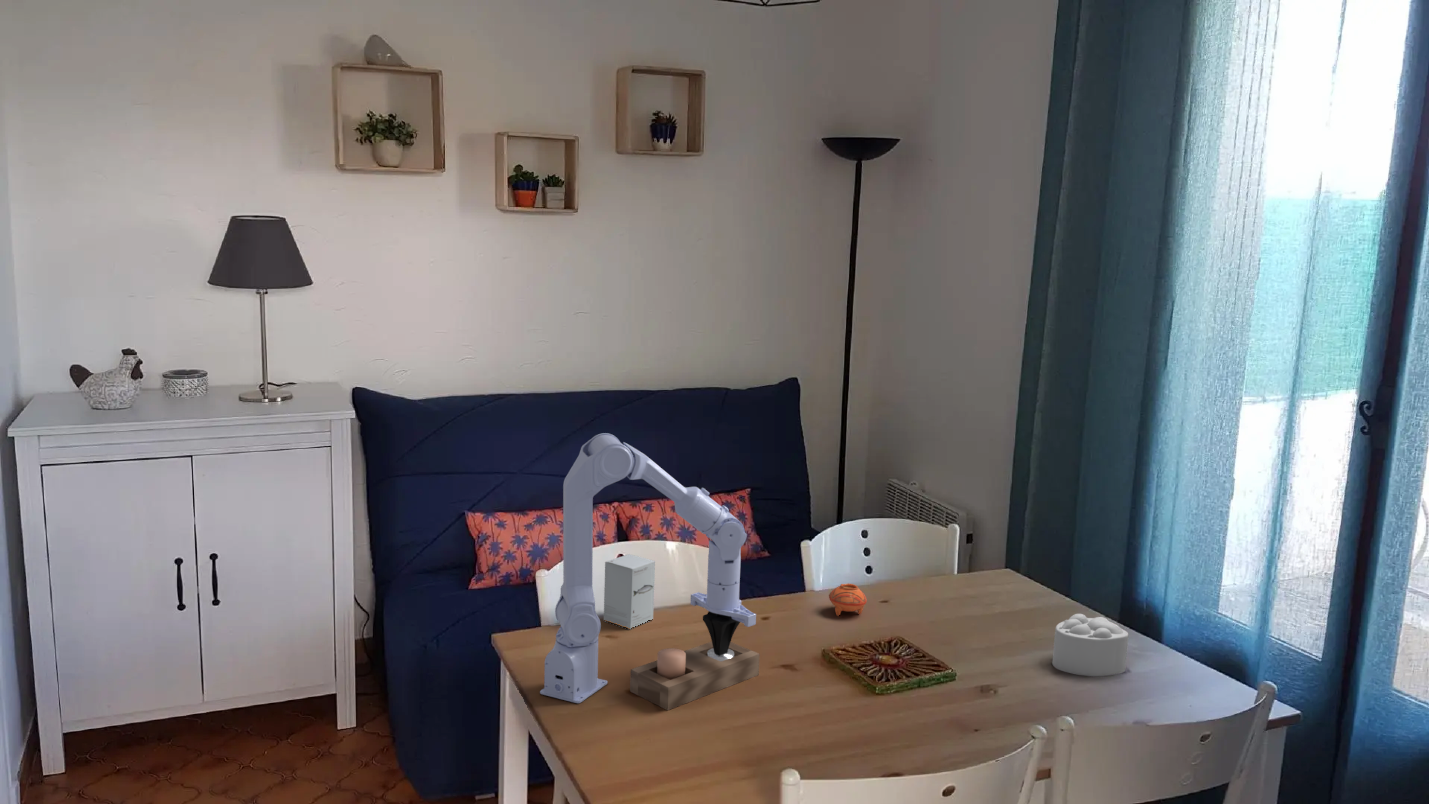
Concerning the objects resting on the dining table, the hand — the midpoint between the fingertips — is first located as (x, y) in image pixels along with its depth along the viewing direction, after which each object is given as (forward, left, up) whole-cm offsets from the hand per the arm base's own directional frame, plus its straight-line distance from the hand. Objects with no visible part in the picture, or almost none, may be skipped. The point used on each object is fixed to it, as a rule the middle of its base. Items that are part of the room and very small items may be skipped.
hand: (720, 653), depth 196 cm
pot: (+41, -10, -4) cm, 43 cm away
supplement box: (+14, +27, -4) cm, 31 cm away
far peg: (0, 0, -4) cm, 4 cm away
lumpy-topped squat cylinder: (+38, -58, -4) cm, 70 cm away
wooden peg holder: (-6, +2, -4) cm, 7 cm away
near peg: (-11, +4, -1) cm, 12 cm away
